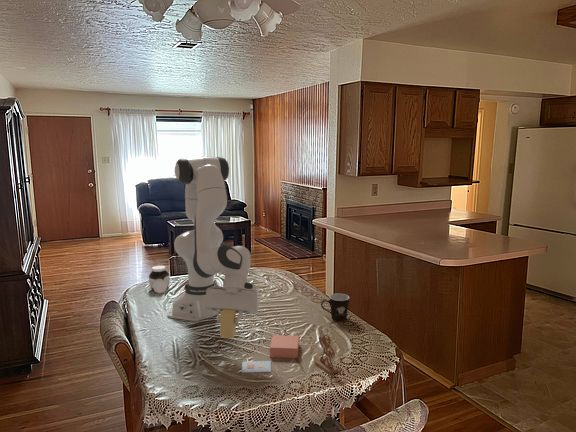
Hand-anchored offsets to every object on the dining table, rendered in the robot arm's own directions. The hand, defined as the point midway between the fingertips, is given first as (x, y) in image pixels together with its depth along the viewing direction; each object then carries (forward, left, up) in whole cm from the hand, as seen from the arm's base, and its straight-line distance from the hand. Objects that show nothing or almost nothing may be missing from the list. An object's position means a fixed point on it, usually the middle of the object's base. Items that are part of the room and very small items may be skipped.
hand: (227, 323), depth 154 cm
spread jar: (-55, +64, -13) cm, 85 cm away
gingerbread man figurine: (+35, -3, -13) cm, 38 cm away
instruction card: (+11, -6, -13) cm, 18 cm away
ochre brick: (0, +1, -5) cm, 5 cm away
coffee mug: (+37, +39, -13) cm, 56 cm away
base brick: (+19, +7, -13) cm, 25 cm away
